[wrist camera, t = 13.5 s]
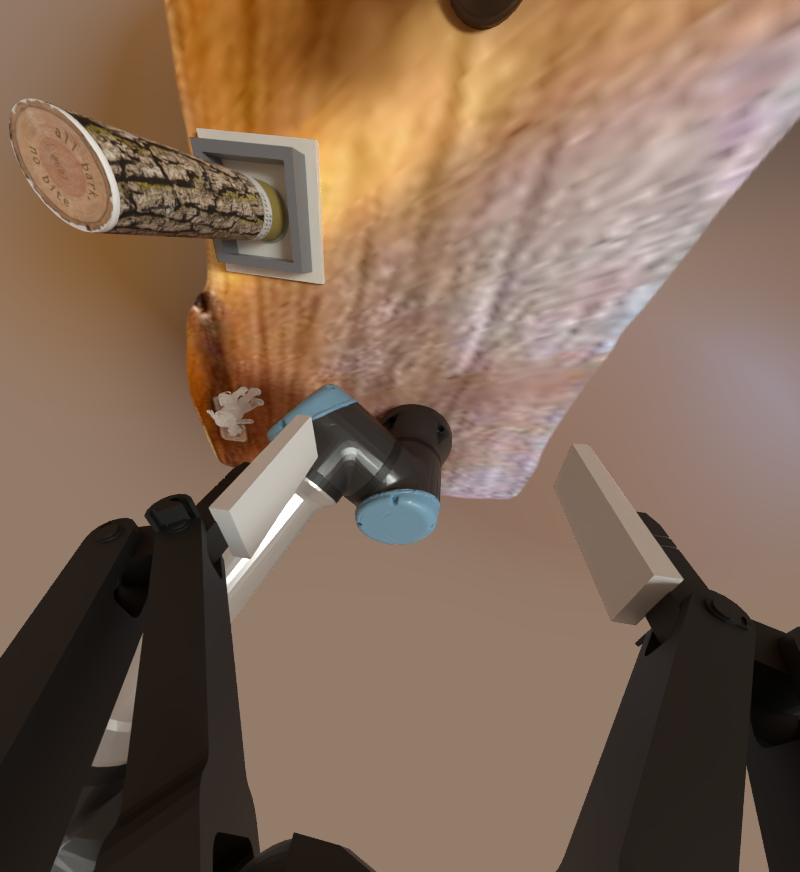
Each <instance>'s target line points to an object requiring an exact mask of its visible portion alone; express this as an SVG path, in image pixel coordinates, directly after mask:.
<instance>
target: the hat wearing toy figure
mask: <svg viewBox="0 0 800 872" xmlns="http://www.w3.org/2000/svg"><path fill="white" fill-rule="evenodd" d="M246 391H248V393H247V394H245V392H246ZM226 392H228V393H230V395H228V394H226V393H225V392H223V393H221V394H219V396H218V398H219V399H218V400H219V403H220V405H221V406H223V405H224V406H223V409H221V410H220V411H217V412H216V413H214V412H213V411H212V410H211V412H210V410H209V411H208V410H207V413H208V412H209V414H210V415H211V417H213V419H215V423H216V424H217V425H218V426H220V427H223V426H224V427H228V428H229V429H228V432H229V433H230V434H229V433H228V434H229V435H230V436H236V435H238V434H242V433H241V432H244V430H245V427H244V426H242V427H243V428H244V429H243V431H242V429H241V428H240V426H238V425H237V424H252V423H253V422H254V420H251V419H246V418H245V419H242V417H243V415H244V414H245V413H247V412H249V411H251V410H253V409H254V408H256V407H257V406H262V405H264V401H263V400H262V399H260V398H254V397H255V396H258V395H260V394H261V390H260V389H258V388H250V389H247V387H244V386H243V387H240V388H239V389H238V390H237V391H235V392H234V393H232V394H231V392H230V391H226ZM240 395H241V396H243V397H240V399H239V400H238V399H237V398H238V397H239V396H240ZM220 396H221V397H220ZM250 401H251V402H250ZM249 402H250V403H249ZM214 414H215V415H214Z"/></svg>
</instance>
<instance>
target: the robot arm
mask: <svg viewBox="0 0 800 872" xmlns="http://www.w3.org/2000/svg"><path fill="white" fill-rule="evenodd" d="M267 437H268V439H269V441H270V442H271V443H270V444H269V445H268V446H267V447H266V448H265V449H264V450H263V451H262V452H261V453H260V454H259V455H258V456H257V457H256V458H255V459H254V460H253V462H252V463H248V462H244V463H242V464H240V465H239V466H237V467H235V468H234V469H232V470H231V472H229V473H228V474H227V475H226V476H225V479H222V480H221V481H220V482H219V483H218V485H217V486H215V487H214V488H213V489H212V490H211V491H210V492H209V493H208V494H207V495H206V496H205V497H204V498H203V499H202V500H201V501H200V502H199V503H198V504H197V505H196V506H195V504H194V502H193V500H192V498H191V497H190V496H188V495H186V494H176V495H171V496H168V497H166V498H163V499H161V500H159V501H158V502H156V503H154V504H153V505H152V506H151V507H150V508H149V509H148V510H147V511H146V513H145V518H146V519H147V521H148V522H149V523H150V525H151V526H143V527H138V526H137V525H136V524H135V522H134V521H133V520H132V519H129V518H120V519H116V520H112V521H109V522H107V523H105V524H103V525H101V526H99V527H97V528H96V529H95V530H93V531H92V532H91V533H90V534H89V535H88V536H87V537H86V538H85V540H84V541H83V542H82V543H81V545H80V546H79V548H78V549H77V551H76V552H75V554H74V555H73V556H72V558H71V559H70V560H69V562H68V564H67V565H66V566H65V568H64V569H63V570H62V572H61V573H60V575H59V576H58V578H57V579H56V580H55V582H54V583H53V585H52V586H51V587H50V589H49V590H48V591H47V593H46V594H45V596H44V597H43V599H42V600H41V602H40V603H39V604H38V606H37V607H36V608H35V610H34V611H33V613H32V614H31V615H30V617H29V618H28V620H27V621H26V622H25V624H24V625H23V627H22V628H21V630H20V631H19V632H18V634H17V635H16V637H15V638H14V640H13V641H12V642H11V644H10V645H9V647H8V648H7V649H6V651H5V652H4V654H3V655H2V656H1V658H0V872H376V871H375V870H374V869H372V868H371V867H370V866H369V865H367V864H366V863H365V862H364V861H363V860H362V859H360V858H359V857H358V856H357V855H356V854H354V853H353V852H352V851H351V850H350V849H348V848H345V847H342V846H340V845H336V844H333V843H329V842H325V841H322V840H319V839H315V838H312V837H308V836H305V835H301V834H298V833H294V834H293V838H292V839H289V840H285V841H282V842H280V843H278V844H275V845H273V846H271V847H269V848H268V849H266V850H265V851H263V852H261V853H260V848H259V841H258V830H257V822H256V814H255V808H254V804H253V799H252V795H251V792H250V790H249V787H248V783H247V778H246V771H245V761H244V751H243V741H242V731H241V721H240V712H239V702H238V692H237V683H236V672H235V662H234V653H233V643H232V633H231V622H232V621H233V620H234V618H235V617H236V616H237V615H238V613H239V612H240V611H241V609H242V608H243V607H244V605H245V604H246V603H247V601H248V600H249V599H250V598H251V596H252V595H253V594H254V592H255V591H256V590H257V588H258V587H259V586H260V585H261V583H262V582H263V581H264V579H265V578H266V577H267V575H268V574H269V573H270V571H271V570H272V569H273V568H274V566H275V565H276V564H277V562H278V561H279V560H280V558H281V557H282V556H283V554H284V553H285V552H286V550H287V549H288V548H289V547H290V545H291V544H292V543H293V541H294V540H295V539H296V537H297V536H298V535H299V534H300V532H301V531H302V529H303V528H304V527H305V526H306V524H307V523H308V522H309V520H310V519H311V518H312V517H313V515H314V514H315V513H316V511H317V510H319V509H321V508H325V507H330V506H335V505H336V504H337V502H338V501H339V499H340V498H341V497H342V496H344V497H345V498H347V499H348V500H349V501H351V502H352V503H353V504H355V505H356V506H357V508H356V510H355V516H356V517H355V520H356V522H357V526H358V528H359V529H360V530H361V531H362V532H363V533H364V534H365V535H366V536H368V537H370V538H371V539H374V540H376V541H379V542H382V543H387V544H401V545H402V544H410V543H414V542H417V541H420V540H422V539H424V538H425V537H427V536H428V535H429V534H430V533H431V532H432V531H433V530H434V528H435V526H436V523H437V517H438V512H439V509H440V485H441V467H442V465H443V464H444V462H445V461H446V459H447V458H448V456H449V454H450V451H451V447H452V433H451V429H450V426H449V424H448V423H447V421H446V420H445V419H444V417H443V416H442V415H440V414H439V413H438V412H436V411H435V410H433V409H431V408H429V407H426V406H422V405H414V404H411V405H403V406H400V407H397V408H395V409H393V410H391V411H390V412H389V413H388V414H387V415H386V416H385V417H384V418H383V420H382V421H381V424H380V423H379V422H378V421H377V420H376V419H375V418H374V417H373V416H372V415H371V414H370V413H369V412H368V411H367V410H365V409H364V408H363V407H362V406H361V405H360V404H359V403H358V401H357V400H356V399H353V398H352V397H351V396H349V395H348V394H347V393H346V392H345V391H343V390H342V389H341V388H340V387H338V386H336V385H332V384H329V385H325V386H323V387H321V388H320V389H318V390H317V391H315V392H314V393H312V394H311V395H310V396H308V397H307V398H306V399H305V400H303V401H302V402H301V403H299V404H298V405H297V406H296V407H295V408H293V409H292V410H291V411H290V412H289V413H287V414H286V415H285V416H284V417H283V418H282V419H281V420H280V421H279V422H278V423H276V424H275V425H274V426H273V427H272V428H270V429H269V431H268V432H267ZM554 489H555V491H556V493H557V495H558V498H559V500H560V503H561V505H562V507H563V510H564V512H565V514H566V517H567V519H568V521H569V524H570V526H571V528H572V531H573V533H574V535H575V538H576V540H577V542H578V545H579V547H580V549H581V552H582V554H583V556H584V559H585V561H586V563H587V566H588V568H589V570H590V573H591V575H592V577H593V579H594V582H595V584H596V586H597V589H598V591H599V594H600V596H601V598H602V601H603V603H604V605H605V608H606V610H607V612H608V615H609V617H610V619H611V621H614V622H620V623H625V624H631V625H637V624H638V623H639V622H640V621H641V620H642V619H643V618H644V617H646V619H647V620H648V622H649V624H650V626H651V629H650V630H649V631H648V632H647V633H646V634H644V635H643V636H642V637H641V638H640V639H639V640H638V641H637V642H636V643H635V644H636V645H637V646H640V645H641V644H642V647H641V650H640V652H639V655H638V658H637V661H636V663H635V666H634V669H633V671H632V674H631V677H630V679H629V682H628V685H627V688H626V690H625V694H624V696H623V698H622V701H621V704H620V707H619V709H618V712H617V715H616V717H615V720H614V723H613V726H612V728H611V731H610V734H609V736H608V739H607V742H606V745H605V748H604V750H603V753H602V756H601V758H600V761H599V764H598V766H597V769H596V772H595V774H594V777H593V780H592V783H591V785H590V788H589V791H588V793H587V796H586V799H585V802H584V804H583V807H582V810H581V812H580V815H579V818H578V821H577V823H576V826H575V829H574V831H573V834H572V837H571V840H570V842H569V845H568V848H567V850H566V853H565V856H564V858H563V860H562V863H561V864H560V866H559V868H558V870H557V871H556V872H739V858H740V844H741V832H742V831H741V830H742V817H743V804H744V789H745V777H746V765H747V770H748V774H749V779H750V784H751V788H752V793H753V798H754V802H755V807H756V812H757V816H758V821H759V825H760V830H761V835H762V839H763V844H764V849H765V853H766V857H767V862H768V867H769V872H800V627H796V628H795V629H793V630H791V631H790V632H788V633H784V632H782V631H779V630H776V629H774V628H771V627H769V626H766V625H764V624H761V623H759V622H756V621H754V620H751V619H750V617H749V616H748V615H747V613H745V612H744V611H743V610H742V609H741V608H740V607H739V606H738V605H737V604H735V603H734V602H733V601H731V600H730V599H728V598H727V597H725V596H723V595H721V594H719V593H717V592H715V591H712V590H709V589H708V588H707V586H706V585H705V584H704V582H703V581H702V580H701V579H700V577H699V576H698V575H697V573H696V572H695V571H694V569H693V568H692V567H691V565H690V564H689V563H688V561H687V560H686V559H685V557H684V556H683V555H682V554H681V552H680V551H679V550H677V549H676V548H677V547H676V545H675V544H674V543H673V542H672V540H671V539H669V536H668V535H667V534H666V532H665V531H664V530H663V528H662V527H661V526H660V524H658V523H657V522H656V521H655V520H653V519H652V518H651V517H650V516H649V515H647V514H646V513H642V512H636V511H635V510H634V508H633V507H632V505H631V504H630V503H629V501H628V500H627V498H626V497H625V495H624V494H623V493H622V491H621V490H620V488H619V487H618V486H617V484H616V483H615V481H614V480H613V478H612V477H611V476H610V474H609V473H608V471H607V470H606V469H605V467H604V466H603V464H602V463H601V461H600V460H599V458H598V457H597V456H596V454H595V453H594V452H593V450H592V449H591V447H590V446H589V445H581V444H572V445H571V447H570V450H569V452H568V454H567V457H566V459H565V461H564V463H563V465H562V468H561V470H560V472H559V475H558V477H557V479H556V481H555V483H554Z"/></svg>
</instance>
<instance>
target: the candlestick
mask: <svg viewBox="0 0 800 872" xmlns="http://www.w3.org/2000/svg"><path fill="white" fill-rule="evenodd" d="M521 2H522V0H450V3H451V5H452V7H453V9H454V11H455V13H456V14H457V16H458V17H459V18H460V19H461V20H462V21H463V22H464V23H465V24H466V25H468V26H470V27H471V28H475V29H480V30H481V29H490V28H492V27H495V26H497V25H499V24H500V23H502V22H503V21H505V20H506V19H507V18H508V17H509V16H510V15H511V14H512V13H513V12H514V11H515V10H516V9H517V7H518V6H519V5H520V3H521Z"/></svg>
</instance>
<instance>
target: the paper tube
mask: <svg viewBox="0 0 800 872" xmlns="http://www.w3.org/2000/svg"><path fill="white" fill-rule="evenodd" d="M9 132H10V139H11V143H12V147H13V150H14V153H15V156H16V158H17V161H18V163H19V165H20V167H21V169H22V171H23V173H24V175H25V177H26V179H27V180H28V182H29V183H30V185H31V186H32V188H33V189H34V191H35V192H36V193H37V195H38V196H39V197H40V199H41V200H42V201H43V202H44V203H45V204H46V205H47V206H48V208H50V210H52V211H53V212H54V213H55V214H56V215H57V216H58V217H59V218H61V219H62V220H63V221H65V222H66V223H68V224H69V225H71V226H73V227H75V228H77V229H80V230H82V231H86V232H94V233H108V234H129V235H149V236H169V237H188V238H209V239H229V240H249V241H272V240H275V239H277V238H278V237H279V236H280V235H281V234H282V232H283V230H284V227H285V219H286V218H285V210H284V206H283V203H282V201H281V199H280V197H279V195H278V194H277V192H276V191H275V190H274V189H273V188H272V187H271V186H270V185H269V184H267V183H266V182H264V181H261V180H258V179H256V178H253V177H250V176H248V175H245V174H243V173H240V172H237V171H234V170H232V169H229V168H226V167H223V166H221V165H218V164H215V163H212V162H210V161H207V160H204V159H201V158H199V157H196V156H193V155H190V154H188V153H185V152H182V151H180V150H177V149H174V148H171V147H168V146H166V145H163V144H160V143H158V142H154V141H152V140H149V139H146V138H144V137H141V136H138V135H136V134H133V133H130V132H127V131H124V130H122V129H119V128H116V127H114V126H111V125H108V124H105V123H103V122H100V121H97V120H94V119H91V118H89V117H86V116H83V115H81V114H78V113H75V112H72V111H70V110H67V109H64V108H61V107H59V106H56V105H53V104H50V103H47V102H43V101H41V100H37V99H24V100H21V101H19V102H18V103H17V104H16V105H15V106H14V107H13V109H12V111H11V115H10V119H9Z"/></svg>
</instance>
